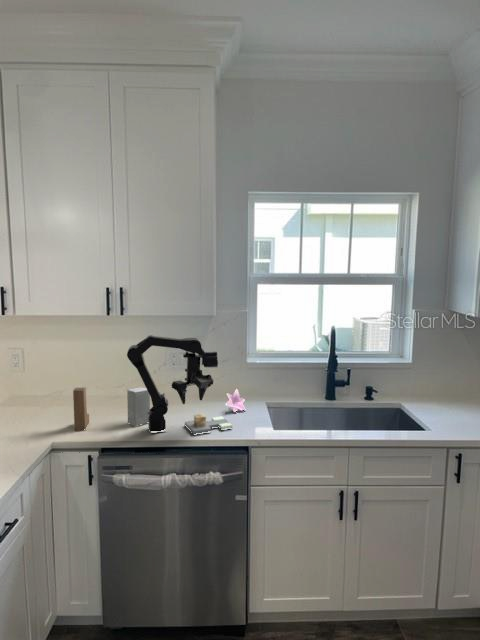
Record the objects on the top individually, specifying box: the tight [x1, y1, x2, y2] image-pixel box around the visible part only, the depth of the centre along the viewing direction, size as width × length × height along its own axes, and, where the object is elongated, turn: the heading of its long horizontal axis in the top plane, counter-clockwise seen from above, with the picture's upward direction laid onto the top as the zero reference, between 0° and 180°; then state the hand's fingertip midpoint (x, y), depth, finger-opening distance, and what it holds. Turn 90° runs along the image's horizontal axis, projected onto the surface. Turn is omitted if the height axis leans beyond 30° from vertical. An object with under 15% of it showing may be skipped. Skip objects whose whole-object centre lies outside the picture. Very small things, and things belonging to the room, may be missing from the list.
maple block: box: [193, 413, 207, 427], centre depth 192 cm, size 4×4×4 cm
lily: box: [225, 388, 247, 413], centre depth 216 cm, size 12×12×10 cm
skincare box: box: [126, 387, 151, 427], centre depth 197 cm, size 8×7×16 cm
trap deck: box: [184, 415, 233, 435], centre depth 194 cm, size 18×12×2 cm, turn 115°
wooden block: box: [72, 387, 90, 431], centre depth 191 cm, size 9×4×18 cm, turn 8°
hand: (192, 402), depth 191 cm, fingers open, 9 cm apart
